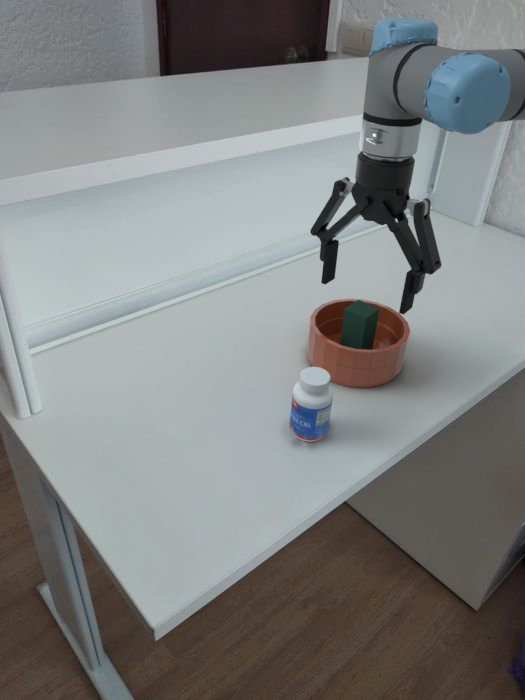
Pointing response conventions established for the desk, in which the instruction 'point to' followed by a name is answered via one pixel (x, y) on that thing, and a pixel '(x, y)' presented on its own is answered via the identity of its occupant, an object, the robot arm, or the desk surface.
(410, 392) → the desk surface
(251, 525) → the desk surface
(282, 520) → the desk surface
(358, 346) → the green block
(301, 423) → the pill bottle
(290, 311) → the desk surface
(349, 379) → the bowl
